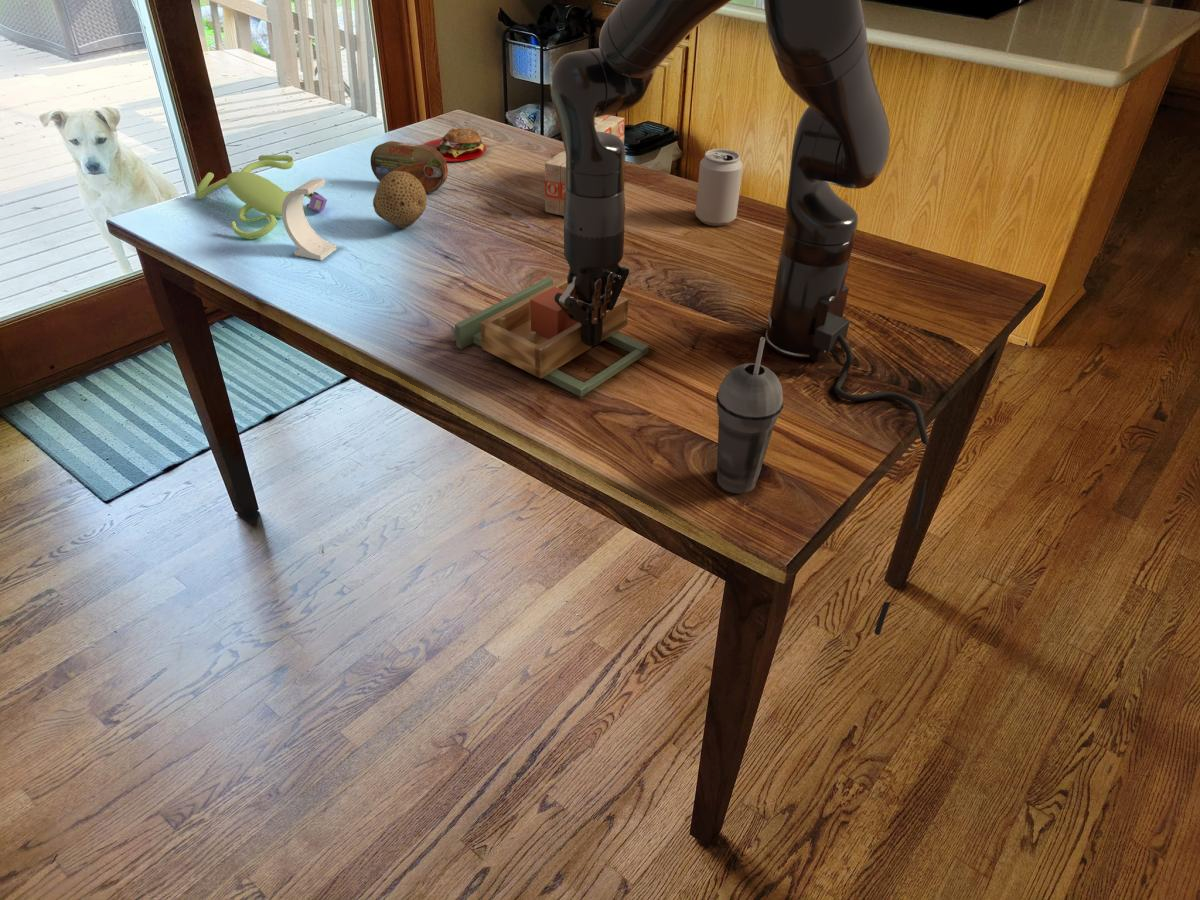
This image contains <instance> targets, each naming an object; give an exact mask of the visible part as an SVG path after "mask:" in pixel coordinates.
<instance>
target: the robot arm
mask: <svg viewBox="0 0 1200 900" xmlns="http://www.w3.org/2000/svg"><path fill="white" fill-rule="evenodd" d="M731 1H733V0H620V1H619V2H618V3H617V5H616V6H615V7H614V8H613V10H612V11H611V12H610V13H609V15H608V17H606V18H605V21H604V23H603V25H602V26H601V29H600V32H599V36H598V37H599V38H598V45H599V47H596V48H590V49H589V48H588V49H583V50H577V51H571V52H568V53H565V54H563V55H562V56H560V57H559V58H558V60H557V61H556V63H555V64H554V67H553V69H552V71H551V75H550V80H549V81H550V82H549V90H550V96H551V100H552V105H553V109H554V113H555V115H556V119H557V122H558V126H559V130H560V131H559V132H560V135H561V139H562V143H563V148H564V150H565V152H566V192H565V199H564V216H563V256H564V258H565V260H566V262H567V264H568V266H569V270H568V274H567V276H566V277H567V283H568V286H567V288H566V290H565V291H564V293H563V294H561V293H557V294H556V295H555V298H554V300H555V302H556V303H557V304H558V305H559V306H560V307H561V309H562V310H563V311H564V312H565V313H566V314H567V315H568V317H569V318H570V319H572V320H574V321H577V322H579V323H581V340H582V341H583V343H584V344H586V345H589V346H591V348H594V347H596V346H598V345H599V344H601V342H602V341H601V337H602V329H603V328H602V327H603V319H604V318H605V316H606V311H607V310H612V309H613V308H614V306H615V304H616V302H617V299H618V297H619V296H620V295H621V293H622V290H623V288H624V286H625V284H626V281H627V279H628V276H629V274H630V269H629V268H627V267H625V266H624V265H620V262H621V261H622V260H623V257H624V248H625V247H624V246H625V226H626V225H625V224H626V198H625V180H626V179H625V177H626V147H625V142H624V143H623V141H622V140H621V139H620V138H619V137H617V136H616V135H613V134H610V133H605V132H596V129H595V118H596V117H600V116H605V115H609V116H611V115H614V114H619V113H623V112H625V111H628V110H630V109H631V108H633V107H634V106H636V105H637V104H638V103H640V102H641V100H643V98H644V97H645V95H646V93H647V92H648V89H649V86H650V84H651V82H652V80H653V79H654V76H655V74H656V71H657V68H658V67H659V66H660V65H661V64H662V63H663V62H664V61H665V60H666V59H667V58H668V56H669V55H671V53H672V52H673V51H674V50H676V48H677V47H678V46H680V44H681V43H683V41H684V40H685V39H686V38H687V37H688V36H689V35H690V34H691V33H692V32H693V31H694V30H695V29H696V28H697V27H698V26H699V25H700V24H702V23H703V22H704V21H705V20H706V19H708V18H709V17H710V16H712V15H713V14H715V13H716V12H717V11H719V10H720V9H721V8H723V7H724V6H726V5H727V4H729V3H730V2H731ZM763 6H764V15H765V25H766V31H767V35H768V39H769V43H770V46H771V49H772V53H773V55H774V59H775V61H776V65H777V68H778V70H779V73H780V75H781V76H782V78H783V80H784V82H785V83H786V85H787V86H788V88H789V89H790V90H791V91H792V92H793V93H794V94H795V95H796V96H797V97H798V98H799V99H800V100H801V101H802V102H804V103H805V104H806V105H807V107H806V108H805V110H804V111H803V113H802V115H801V117H800V119H799V121H798V124H797V127H796V130H795V133H794V138H793V143H792V150H791V157H790V167H789V175H788V185H787V193H786V201H785V223H784V228H783V233H782V240H781V245H780V252H779V257H778V263H777V269H776V275H775V282H774V288H773V293H772V299H771V305H770V310H769V311H768V313H767V320H768V322H767V327H766V332H765V337H764V338H765V343H766V345H767V346H768V347H769V349H771V350H772V351H774V352H776V353H777V354H780V355H782V356H784V357H787V358H792V359H797V360H810V361H812V362H818V361H820V360H821V359H822V358H823V357H824V356H825V355H827V354H828V353H829V352H830V351H831V350H832V349H834V348H835V347H836V346H837V345H838V344H839V345H840V346H841V348H842V349H843V351H844V353H845V363H844V364H843V366H842V367H841V371H840V375H839V377H838V379H837V381H836V382H835V384H834V386H833V391H834V393H835V394H836V395H837V396H838V397H840V398H841V399H844V400H847V401H850V402H851V401H852V402H862V401H870V400H875V399H881V398H889V399H895V400H897V401H900V402H902V403H904V404H905V405H907V406H909V407H910V408H911V409H912V411H913V412H914V416H915V418H916V423H917V428H918V433H919V437H920V441H921V443H922V445H926V446H927V445H929V444H930V443H929V438H928V433H927V429H926V425H925V419H924V416H923V415H924V414H923V411H922V409H921V406H919V404H918V403H917V402H916V401H914V400H913V399H911V398H909V397H908V396H907V395H904V394H903V393H899V392H896V391H889V390H883V391H875V392H870V393H864V394H851V393H848V392H846V391H844V390H843V389H841V388H842V386H843V385H844V382H845V380H846V378H847V374H848V372H849V370H850V368H851V366H852V363H853V352H852V349H851V346H850V345H849V343H848V342H847V340H846V338H847V335H848V331H849V326H850V323H851V320H849V319H847V318H844V317H843V316H844V312H845V308H846V304H847V300H848V294H849V290H850V288H849V286H848V285H846V284H845V282H846V279H847V273H848V270H849V265H850V261H851V255H852V252H853V247H854V243H855V239H856V233H857V230H858V225H859V216H858V213H857V211H856V210H855V208H853V207H852V205H850V204H849V203H847V202H846V201H844V199H842V197H840V196H839V195H838V194H837V193H836V192H835V191H834V190H833V188H832V187H831V185H834V186H837V187H841V188H845V189H854V190H857V189H858V190H859V189H864V188H867V187H869V186H870V185H872V184H874V183H875V182H876V181H877V180H878V179H879V177H880V176H881V174H882V173H883V171H884V168H885V167H886V164H887V161H888V156H889V151H890V142H891V135H890V134H891V132H890V125H889V120H888V116H887V113H886V110H885V107H884V104H883V101H882V99H881V96H880V93H879V90H878V88H877V85H876V82H875V76H874V73H873V69H872V68H873V67H872V64H871V59H870V52H869V44H868V35H867V27H866V22H865V15H864V9H863V5H862V1H861V0H763ZM611 293H612V294H611ZM927 481H928V478H926V479H925V480H924V482H923V483H922V484H921V485H920V486H919V488H918V489H917V494H916V495H917V496H916V499H915V507H914V511H913V515H912V519H911V522H912V524H913V526H914V528H915V531H917V530H918V527H919V522H920V519H921V514H922V509H923V506H924V499H925V494H926V487H927ZM890 606H891V601H884V602H883V605H882V608H881V610H880V613H879V616H878V619H877V622H876V625H875V628H874V634H875V635H876V636H880V635H881V633H882V630H883V626H884V623H885V620H886V617H887V614H888V612H889V608H890Z"/></svg>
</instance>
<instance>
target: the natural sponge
mask: <svg viewBox="0 0 1200 900" xmlns="http://www.w3.org/2000/svg"><path fill="white" fill-rule="evenodd" d="M372 207H373V209H374V212H375V214H376V215H377V216H378V217H379V218H380V219H382V220H384V221H386V222H388V223H389V224H391V225H392V226H395V227H396V228H399V229H407V228H409V227H411V226H412V225H414V224H415V223H416V221H417V220H418V219H420V217H421V216H422V215H423V214H424V212H425V210H426V207H427V193H426V192H425V189H424V187H423V186H422V184H421V182H420V181H419V180H418V179H417V178H416V177H415V176H413V175H412V174H410V173H408V172H403V171H393V172H390V173H388V174H387V175H386V176H384V177H383V179H382V180H381V181H379V183H378V185H377V187H376V190H375V193H374V197H373V198H372Z"/></svg>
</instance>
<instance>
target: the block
mask: <svg viewBox="0 0 1200 900" xmlns="http://www.w3.org/2000/svg"><path fill="white" fill-rule="evenodd" d="M557 293H561V294H563V293H564V290H562V289H559V288H557V287H553V288H551V289H549V290H547V291H545V292H543V293H541V294H539V295H538V296H536V297H534V298H532V299H530V310H531V331H534V332H536V334H538V335H541V336H543V337H545V338H547V339H550V338H552V337H554V336H556V335H557V334H559V333H561V332H563V331H564V330H566V329H568V328H570V327H571V326H573V325H575V324H576V323H578V322H577V321H574V320H572V319H570V318H569V317H568V315H567V314H566V313H565V312H564V311H563V310H562V309H561V307H560V306H559V305H558V304H557V303H556V302H555V300H554V298H555V295H556V294H557Z"/></svg>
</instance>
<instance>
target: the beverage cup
mask: <svg viewBox="0 0 1200 900" xmlns="http://www.w3.org/2000/svg"><path fill="white" fill-rule="evenodd" d="M765 343H766V340H765V337H764V336H761V337H760V339H759V343H758V348H757V353H756V358H755V363H753V362H751V363H743V364H740V365H738V366H736V367H734V368H732V369H731V370H729V372H727V374H725V377H724V378H723V379H722V381H721V383H720V385H719V387H718V390H717V392H716V395H715V396H716V397H715V401H716V409H717V416H718V431H717V454H716V455H717V456H716V482H717V484H718V485H719V487H721V489H723V490H725V491H726V492H729V493H731V494H746V493H747V494H748V492H751V491H753V490H754V488H755V487H756V483H757V481H758V479H759V476H760V473H761V470H762V467H763V463H764V460H765V457H766V454H767V450H768V447H769V444H770V440H771V437H772V434H773V431H774V427H775V424H776V423H777V421H778V419H779V416H780V414H781V413H782V410H783V409H784V395H783V386H782V383H781V381H780V380H779V378H778V376H777V375H776V374H775V373H774V372H773V370H771V369H770V368H769V367H767V366H765V365H763V364H761V361H762V357H763V352H764V348H765Z"/></svg>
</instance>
